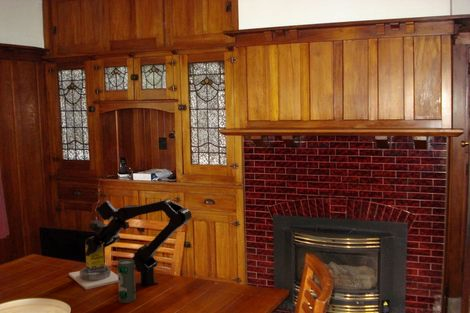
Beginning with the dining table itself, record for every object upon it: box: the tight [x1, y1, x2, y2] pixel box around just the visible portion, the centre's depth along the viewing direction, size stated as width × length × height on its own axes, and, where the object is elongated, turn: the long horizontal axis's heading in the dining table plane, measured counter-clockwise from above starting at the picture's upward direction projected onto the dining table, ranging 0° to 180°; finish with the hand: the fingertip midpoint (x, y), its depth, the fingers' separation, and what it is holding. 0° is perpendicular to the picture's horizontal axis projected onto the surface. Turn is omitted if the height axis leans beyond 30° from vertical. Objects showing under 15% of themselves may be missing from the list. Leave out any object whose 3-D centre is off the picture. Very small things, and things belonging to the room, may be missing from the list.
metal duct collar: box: [79, 265, 112, 281], centre depth 225 cm, size 12×12×2 cm
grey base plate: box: [68, 270, 118, 290], centre depth 225 cm, size 22×16×1 cm
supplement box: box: [84, 242, 105, 271], centre depth 224 cm, size 6×6×11 cm
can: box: [117, 259, 137, 304], centre depth 199 cm, size 6×6×15 cm
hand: (91, 252), depth 224 cm, fingers closed on supplement box, 8 cm apart
